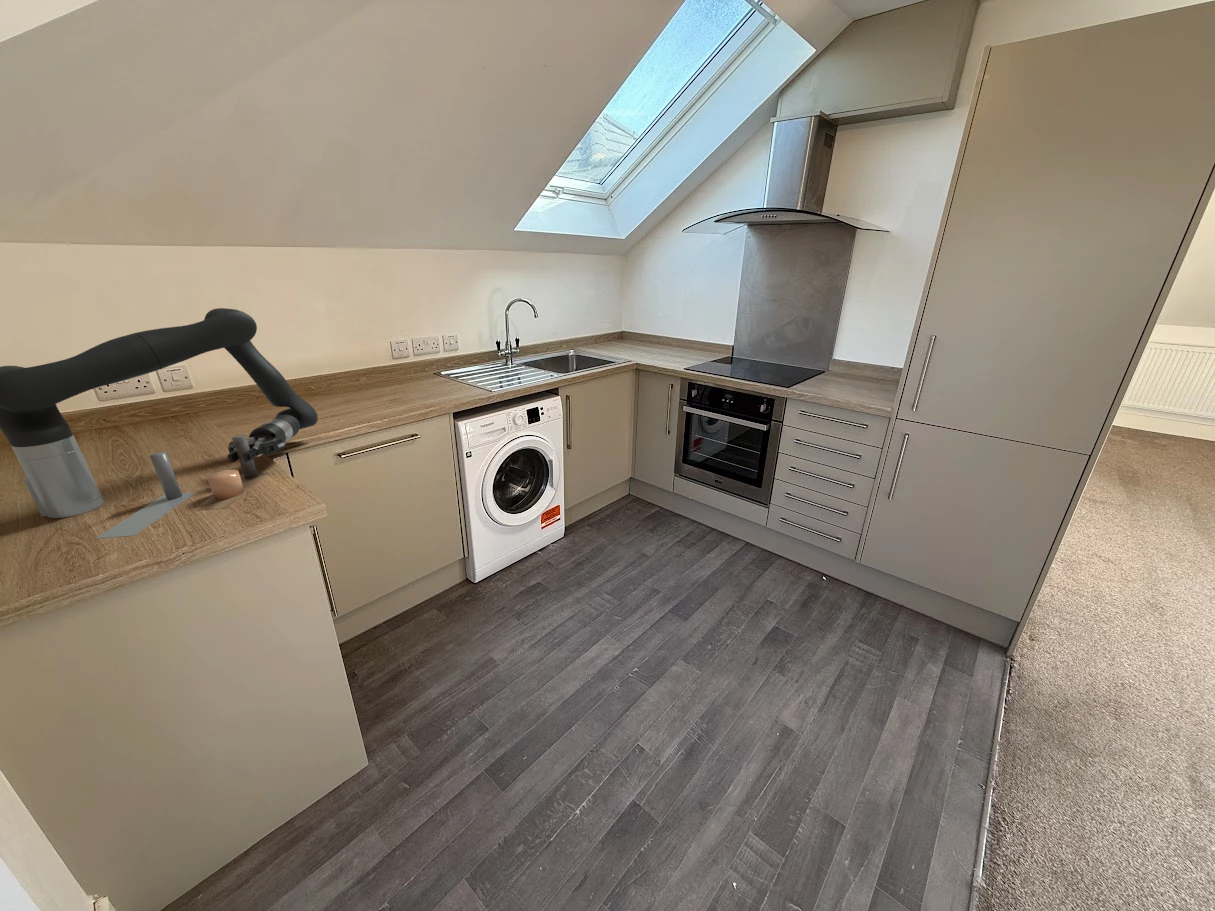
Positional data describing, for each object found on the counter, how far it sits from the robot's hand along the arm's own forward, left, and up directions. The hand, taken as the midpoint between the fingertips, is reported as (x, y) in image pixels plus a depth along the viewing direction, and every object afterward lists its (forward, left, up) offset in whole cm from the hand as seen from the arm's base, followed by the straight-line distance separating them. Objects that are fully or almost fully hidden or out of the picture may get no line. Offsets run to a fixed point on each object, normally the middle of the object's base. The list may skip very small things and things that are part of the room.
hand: (238, 458), depth 119 cm
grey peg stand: (-12, -15, -7) cm, 21 cm away
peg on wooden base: (0, -5, -7) cm, 9 cm away
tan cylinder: (0, -7, -6) cm, 10 cm away
